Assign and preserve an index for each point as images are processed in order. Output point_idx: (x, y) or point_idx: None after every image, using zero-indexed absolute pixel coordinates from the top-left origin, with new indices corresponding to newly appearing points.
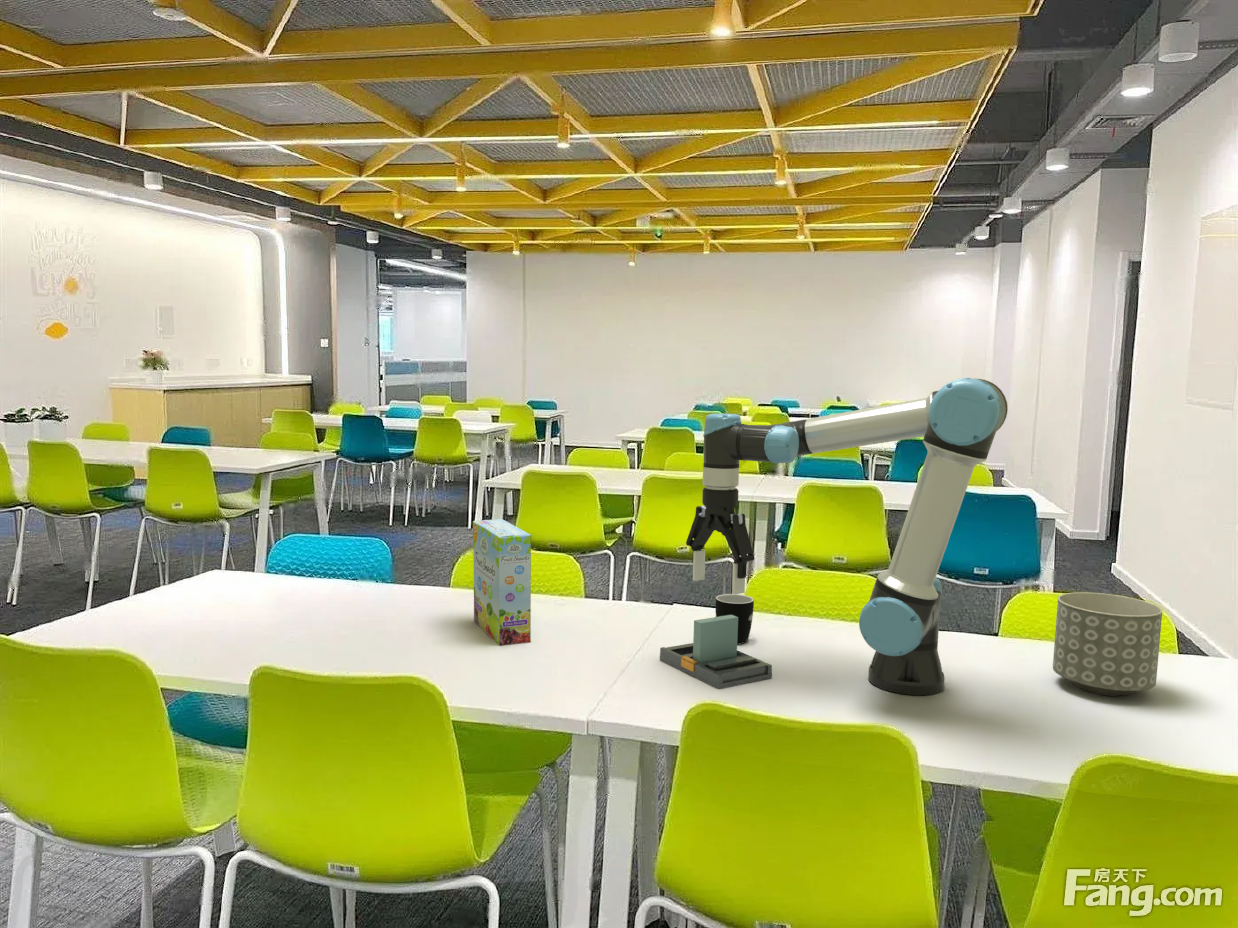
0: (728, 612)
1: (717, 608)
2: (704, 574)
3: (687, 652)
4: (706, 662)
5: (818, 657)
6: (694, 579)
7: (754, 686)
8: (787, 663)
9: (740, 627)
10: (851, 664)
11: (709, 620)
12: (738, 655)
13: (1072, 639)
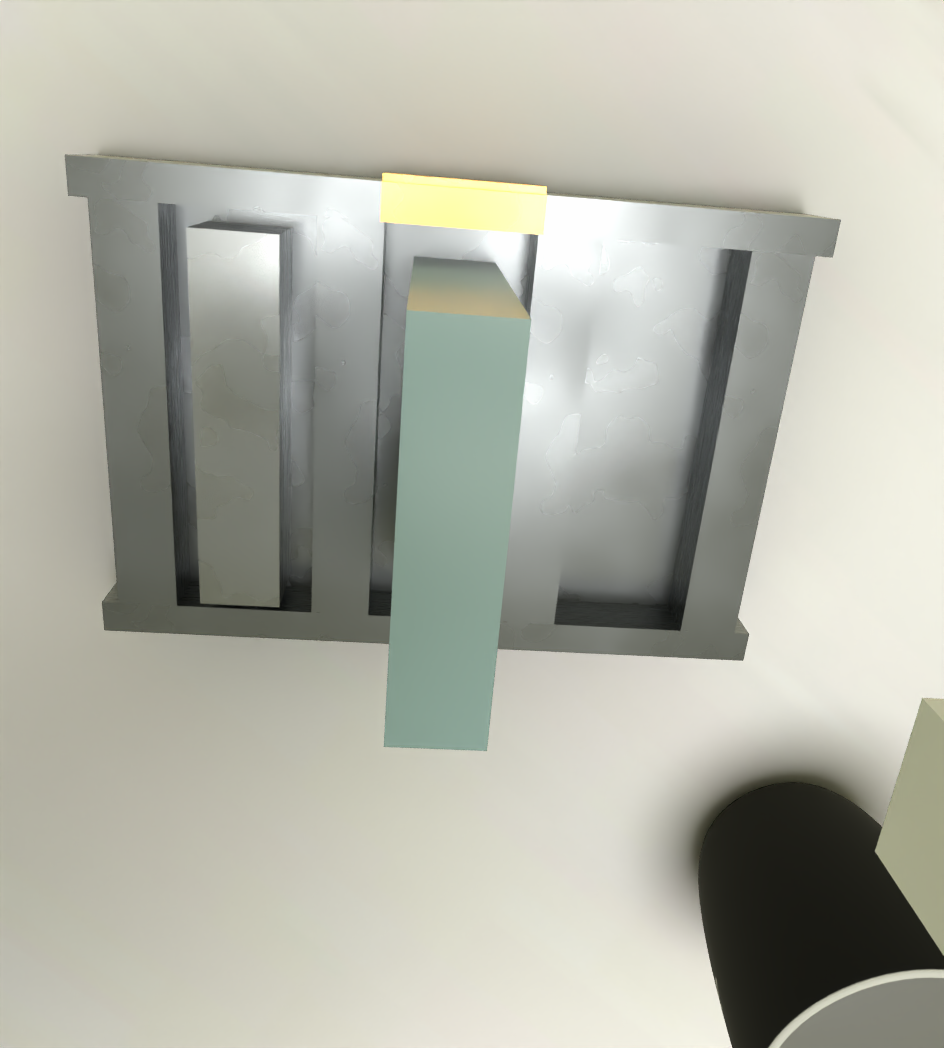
0: (817, 923)
1: None
2: (916, 905)
3: (708, 404)
4: (362, 288)
5: (296, 992)
6: (941, 710)
7: (47, 404)
8: (299, 820)
9: (719, 897)
10: (131, 1039)
11: (440, 457)
12: None
13: None
